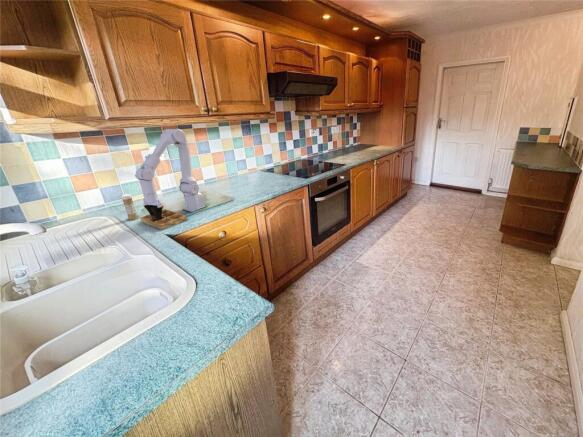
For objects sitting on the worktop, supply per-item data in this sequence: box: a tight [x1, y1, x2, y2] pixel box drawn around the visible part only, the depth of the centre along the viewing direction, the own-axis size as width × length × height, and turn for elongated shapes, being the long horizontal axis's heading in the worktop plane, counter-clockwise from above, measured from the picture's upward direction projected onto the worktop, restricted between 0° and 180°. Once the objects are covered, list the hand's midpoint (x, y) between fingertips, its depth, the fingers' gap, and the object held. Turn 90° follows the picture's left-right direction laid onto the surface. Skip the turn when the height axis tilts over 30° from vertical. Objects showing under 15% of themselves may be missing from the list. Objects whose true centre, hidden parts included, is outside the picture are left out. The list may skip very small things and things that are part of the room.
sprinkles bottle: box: [120, 193, 139, 221], centre depth 137 cm, size 5×5×14 cm
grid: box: [140, 208, 188, 231], centre depth 134 cm, size 14×20×2 cm
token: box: [151, 214, 161, 222], centre depth 131 cm, size 4×4×4 cm
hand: (156, 218), depth 131 cm, fingers closed on token, 4 cm apart
